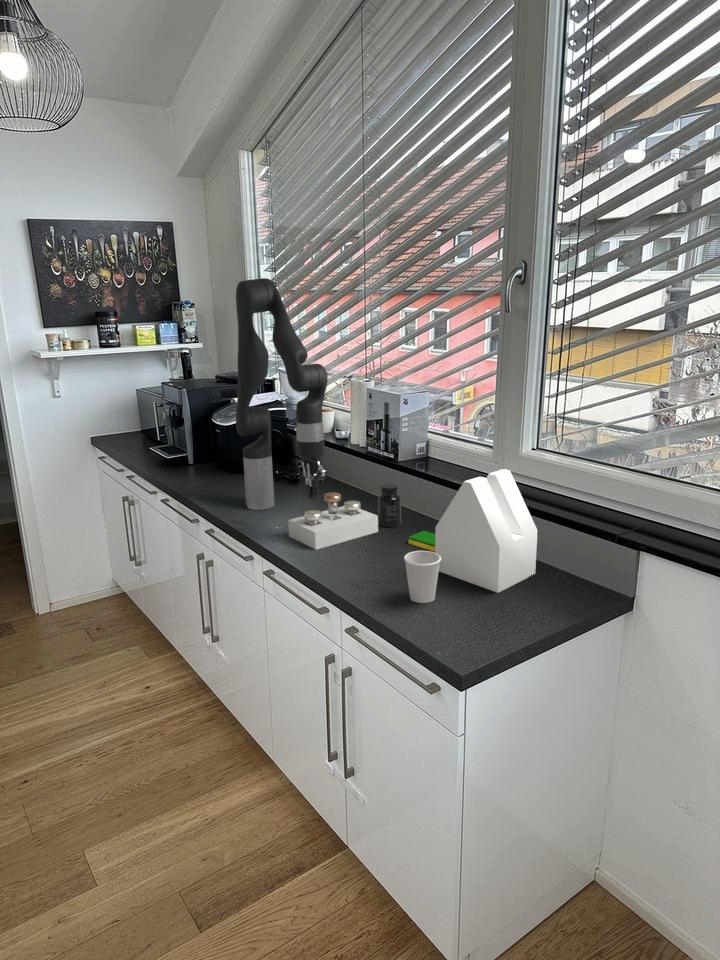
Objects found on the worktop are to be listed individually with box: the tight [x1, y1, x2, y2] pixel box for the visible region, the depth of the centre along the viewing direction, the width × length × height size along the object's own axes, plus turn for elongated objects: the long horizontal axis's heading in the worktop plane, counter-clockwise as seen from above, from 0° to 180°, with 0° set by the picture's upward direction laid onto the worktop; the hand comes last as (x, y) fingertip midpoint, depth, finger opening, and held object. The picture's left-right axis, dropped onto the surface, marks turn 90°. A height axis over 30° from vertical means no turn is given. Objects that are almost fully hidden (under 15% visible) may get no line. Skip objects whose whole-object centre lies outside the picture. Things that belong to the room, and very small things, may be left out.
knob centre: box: [323, 491, 342, 514], centre depth 194 cm, size 5×5×6 cm
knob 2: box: [343, 500, 362, 516], centre depth 200 cm, size 5×5×6 cm
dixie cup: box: [403, 550, 441, 604], centre depth 153 cm, size 8×8×10 cm
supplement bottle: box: [377, 483, 402, 528], centre depth 203 cm, size 7×7×12 cm
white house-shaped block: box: [434, 468, 538, 594], centre depth 165 cm, size 19×15×25 cm
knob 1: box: [303, 509, 322, 526], centre depth 191 cm, size 5×5×6 cm
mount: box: [287, 505, 379, 550], centre depth 196 cm, size 14×22×5 cm, turn 127°
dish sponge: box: [408, 530, 435, 553], centre depth 186 cm, size 7×14×2 cm, turn 46°
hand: (312, 497), depth 190 cm, fingers closed
